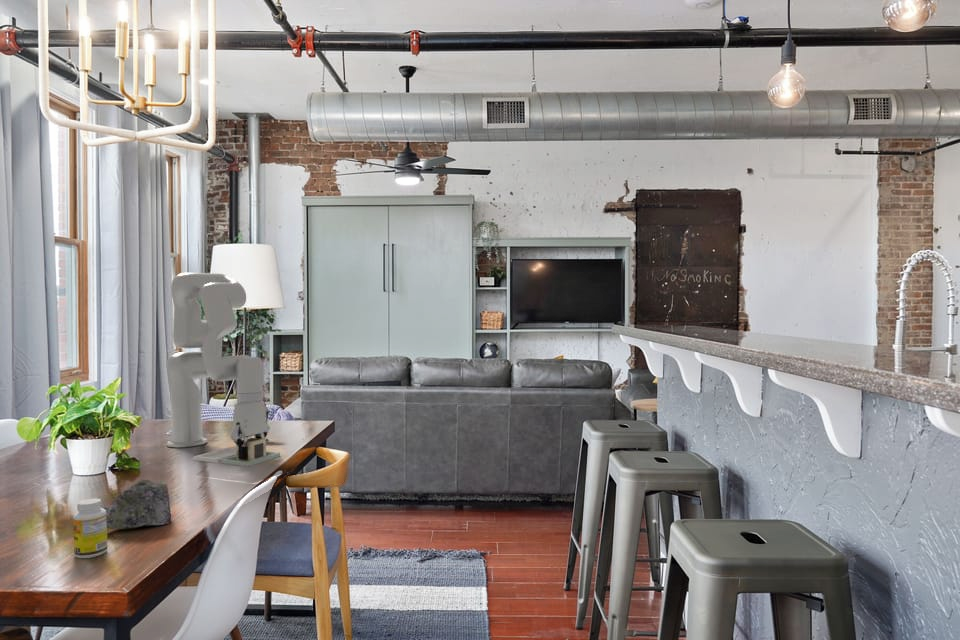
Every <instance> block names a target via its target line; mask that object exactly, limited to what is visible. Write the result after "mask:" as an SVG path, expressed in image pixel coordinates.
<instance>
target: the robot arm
mask: <svg viewBox="0 0 960 640" xmlns="http://www.w3.org/2000/svg"><path fill="white" fill-rule="evenodd" d="M170 292H171V293H170V294H171V297H172V301H173V307H174V311H173V312H174V313H173V327H172V328H173V333H172V338H173V344H174V346H176V347H177V348H180V349H184V350H185V349H202V350H199V351H194V350H193V351H182V352H176V353H173V354H172V355H170V356H169V357H168V358H167V361H166V371H167V377H168V381H169V389H170V415H171V416H170V419H171V420H170V421H171V423H170V424H171V430H169V431H168V432H166V433H165V437H167V438H169V440H168V441H166V445H167V447H169V448H191V447H198V446H202V445H205V444H206V443H207V441H208V439H207V438H206V437H203V429H202V427H203V426H202V424H203V423H202V392H201V390H200V388H199V385H197V384H196V382H195V381H194V380H197V379H198V380H199V379H208V378H209V379H211V380H213V381H214V382H228V381H236V403H235V404H234V408H233V412H232V413H233V414H232V432H231V434H230V439H231V440H232V441H233V442H234V443H235V446H236V445H237V446H238V455H239V459H241V460H247V459H248V446H246V444H247V440H248V438H250V437H253V436H254V438H262V439H266V438H267V435H268V433H269V431H270V430H271V427H270V426H269V424H268V420H266V410H265V404H266V403H265V404H264V400H263V399H264V390H263V389H264V388H263V387H264V385H263V382H264V381H263V378H264V377H263V361H262V359H261V358H260V357H258V356H250V355H244V354H243V355H242V354H241V355H228V356H227V355H225V356H222V355H223V337H226V336H227V335H228V334H231V333H232V332H234V330H235V329H236V328H237V326H238V321H237V318H236V315H235V312H234V309H240V308H242V307H244V306H245V304H246V302H247V293H246V290H245V289H244V287H243V285H242V284H241V283H240V282H238V281H236V280H235V279H233V278H232V277H231V276H229V275H226V274H224V273H215V272H214V273H209V272H183V273H182V272H181V273H179V274H177V275H176V276H174V277H173V279H172V280H171V287H170ZM198 299H199V300H200V302H201V304H200V302H199V301H198ZM202 313H204V316H205V319H206V320H205V319H204V320H203V319H202ZM242 440H243V441H242Z"/></svg>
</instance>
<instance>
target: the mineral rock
mask: <svg viewBox="0 0 960 640" xmlns="http://www.w3.org/2000/svg"><path fill="white" fill-rule="evenodd" d="M170 504H171V503H170V494H169V488H168V484H167V482H166V481H157V482H152V481H151V480H150V479H141V480H139V481H138V482H136V483H134V484H133V485H132V486H130V487H129V489H126V490H125V491H123V492H121V493H120V494H119V495H117V496H115V499H114V500H113V501H112V502H111V503H110V504H108V505H105V506H104V507H102V508H103V509H105V510H106V519H107V529H109V530H114V529H117V530H126V529H137V528H141V527H148V526H163V525H167V524H168V525H169V523H171V520H172V514H171V512H172V511H171V505H170Z"/></svg>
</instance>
